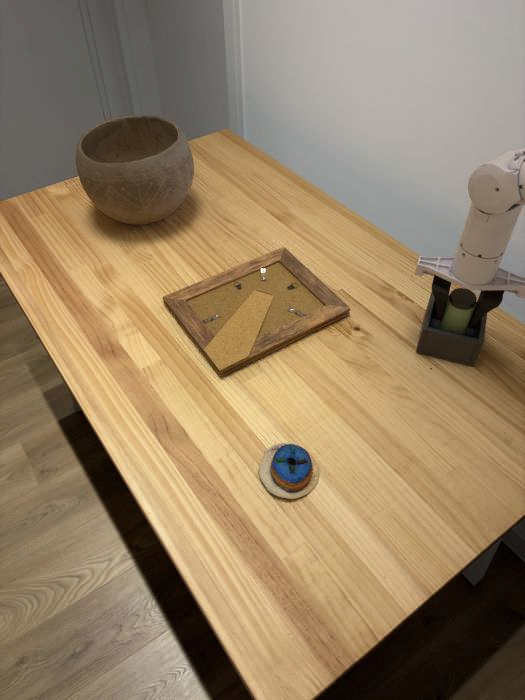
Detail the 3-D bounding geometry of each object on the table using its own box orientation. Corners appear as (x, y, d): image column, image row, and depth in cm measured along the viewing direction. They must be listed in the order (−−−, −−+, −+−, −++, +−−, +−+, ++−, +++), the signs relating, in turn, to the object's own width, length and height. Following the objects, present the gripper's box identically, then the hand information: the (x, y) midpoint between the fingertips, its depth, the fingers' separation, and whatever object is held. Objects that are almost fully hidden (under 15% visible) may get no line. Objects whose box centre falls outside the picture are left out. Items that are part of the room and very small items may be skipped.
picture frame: (220, 378, 79) (349, 315, 88) (219, 370, 78) (350, 306, 87) (163, 303, 90) (283, 253, 98) (161, 295, 89) (284, 245, 97)
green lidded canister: (468, 320, 83) (479, 290, 78) (464, 339, 80) (476, 309, 76) (441, 314, 84) (451, 284, 79) (436, 331, 81) (446, 302, 77)
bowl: (73, 203, 109) (50, 130, 98) (164, 169, 117) (153, 98, 106) (121, 257, 98) (102, 181, 87) (219, 215, 106) (213, 141, 95)
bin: (478, 327, 86) (488, 304, 82) (473, 367, 81) (483, 343, 77) (424, 315, 88) (431, 291, 84) (415, 352, 83) (422, 329, 79)
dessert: (327, 495, 66) (299, 474, 63) (282, 514, 69) (253, 496, 65) (317, 441, 72) (292, 419, 69) (276, 461, 75) (250, 441, 71)
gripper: (542, 238, 72) (508, 312, 82) (429, 216, 75) (410, 291, 85) (541, 271, 67) (505, 346, 77) (421, 247, 71) (402, 321, 81)
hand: (455, 319), depth 81 cm, fingers closed on green lidded canister, 4 cm apart
